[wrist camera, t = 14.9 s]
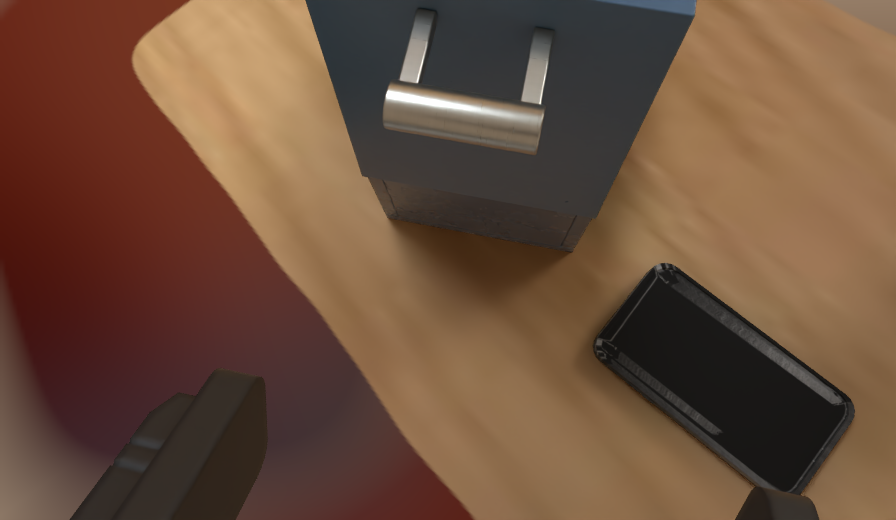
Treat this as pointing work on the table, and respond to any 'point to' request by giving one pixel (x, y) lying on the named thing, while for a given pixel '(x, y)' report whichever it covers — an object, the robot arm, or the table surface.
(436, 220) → the freezer
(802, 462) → the phone
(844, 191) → the table surface
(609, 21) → the freezer lid
